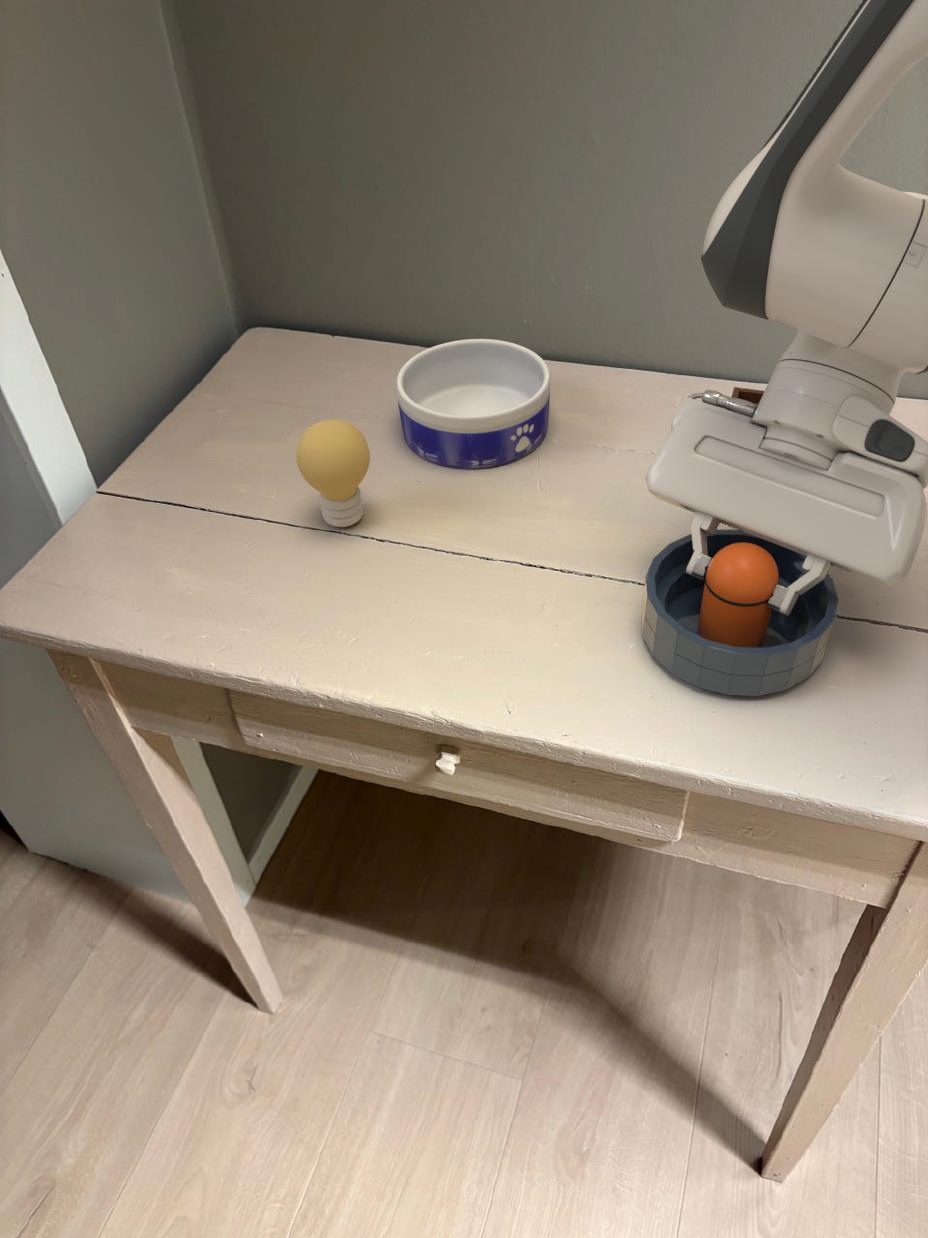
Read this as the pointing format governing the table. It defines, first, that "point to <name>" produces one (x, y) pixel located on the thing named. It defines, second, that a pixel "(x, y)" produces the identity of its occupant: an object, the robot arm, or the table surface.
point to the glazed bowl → (723, 667)
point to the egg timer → (738, 595)
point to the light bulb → (335, 468)
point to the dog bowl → (474, 403)
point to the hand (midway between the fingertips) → (736, 594)
